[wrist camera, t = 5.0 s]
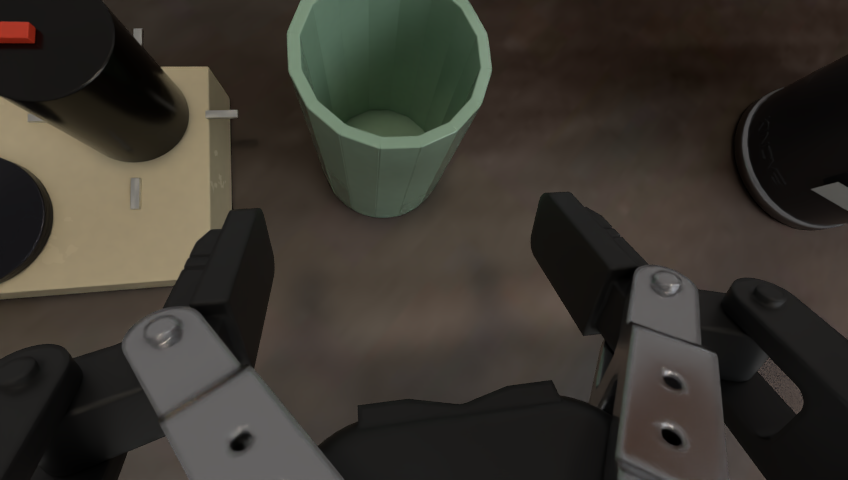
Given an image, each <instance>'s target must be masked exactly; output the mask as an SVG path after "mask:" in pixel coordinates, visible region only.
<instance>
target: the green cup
mask: <svg viewBox="0 0 848 480" xmlns="http://www.w3.org/2000/svg"><path fill="white" fill-rule="evenodd" d="M287 56H288V71H289V75H290V78H291V81H292V83H293V86H294V89H295V92H296V95H297V98H298V101H299V103H300V106H301V109H302V112H303V115H304V118H305V121H306V124H307V126H308V129H309V132H310V135H311V138H312V141H313V144H314V146H315V149H316V152H317V155H318V158H319V161H320V164H321V166H322V169H323V172H324V174H325V176H326V178H327V180H328V183H329V185H330V187H331V189H332V190H333V192H334V193H335V195H336V196H337V197H338V198H339V199H340V200H341V201H342V202H343V203H344V204H345V205H347V206H348V207H349V208H351V209H353V210H354V211H356V212H358V213H361V214H363V215H367V216H371V217H377V218H389V217H396V216H399V215H403V214H405V213H408V212H410V211H411V210H413V209H415V208H416V207H418V206H419V205H420V204H421V203H422V202H423V201H424V200H425V199H426V198H427V197H428V196H429V194H430V193H431V192H432V190H433V189H434V188H435V186H436V184H437V183H438V181H439V179H440V177H441V176H442V174H443V172H444V170H445V168H446V167H447V165H448V163H449V161H450V160H451V158H452V156H453V154H454V152H455V151H456V149H457V147H458V145H459V144H460V142H461V140H462V138H463V136H464V135H465V133H466V131H467V129H468V128H469V126H470V124H471V122H472V120H473V119H474V117H475V115H476V113H477V112H478V110H479V108H480V106H481V105H482V102H483V99H484V96H485V92H486V89H487V86H488V83H489V79H490V76H491V73H492V65H491V57H490V49H489V41H488V35H487V32H486V30H485V29H484V27H483V25H482V23H481V22H480V20H479V18H478V16H477V14H476V13H475V11H474V9H473V7H472V6H471V4H470V3H469V1H468V0H301V1H300V3H299V5H298V8H297V10H296V12H295V15H294V17H293V19H292V22H291V24H290V26H289V29H288V31H287Z"/></svg>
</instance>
